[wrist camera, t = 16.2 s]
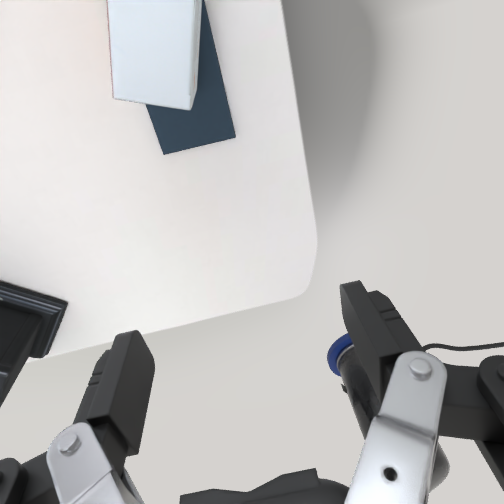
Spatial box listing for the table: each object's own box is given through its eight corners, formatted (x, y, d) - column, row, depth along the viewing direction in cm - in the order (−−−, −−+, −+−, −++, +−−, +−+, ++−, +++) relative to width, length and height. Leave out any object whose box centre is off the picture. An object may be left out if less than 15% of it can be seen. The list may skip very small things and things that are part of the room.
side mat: (235, 136, 37) (235, 137, 36) (164, 153, 37) (163, 154, 36) (166, -165, 25) (165, -169, 24) (61, -136, 25) (58, -140, 25)
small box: (136, -22, 28) (101, -49, 20) (203, -9, 29) (198, -28, 20) (138, 83, 33) (110, 100, 24) (197, 92, 33) (190, 112, 25)
